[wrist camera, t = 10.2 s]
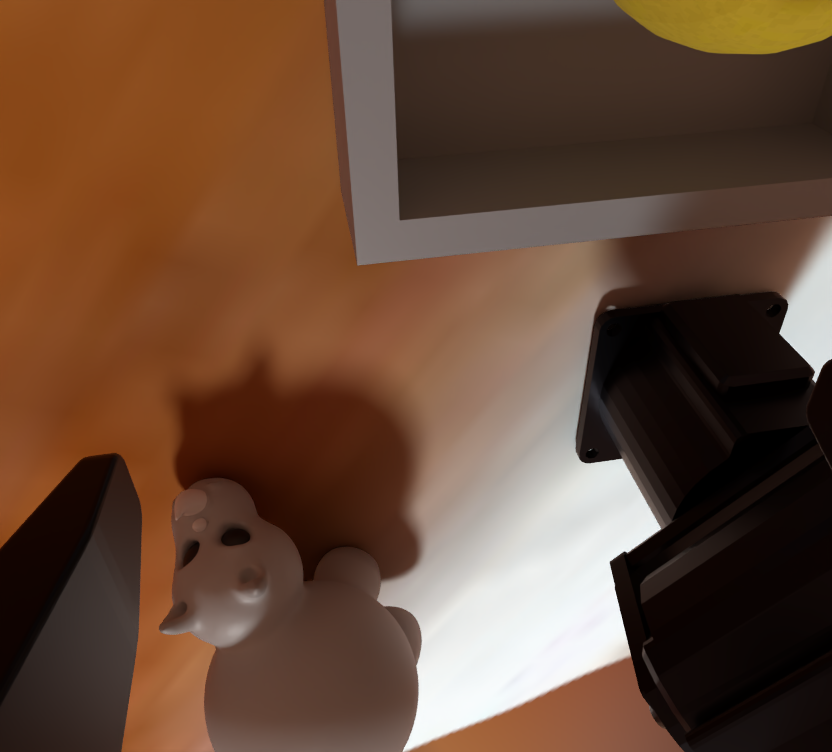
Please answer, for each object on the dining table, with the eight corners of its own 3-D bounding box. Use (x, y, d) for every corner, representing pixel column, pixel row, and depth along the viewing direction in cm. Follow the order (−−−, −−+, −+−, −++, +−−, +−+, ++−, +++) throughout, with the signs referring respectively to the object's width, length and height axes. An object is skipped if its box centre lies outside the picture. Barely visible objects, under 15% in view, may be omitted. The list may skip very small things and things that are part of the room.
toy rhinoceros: (306, 392, 27) (266, 499, 19) (445, 637, 30) (461, 817, 22) (139, 472, 28) (33, 607, 20) (293, 702, 31) (255, 897, 23)
